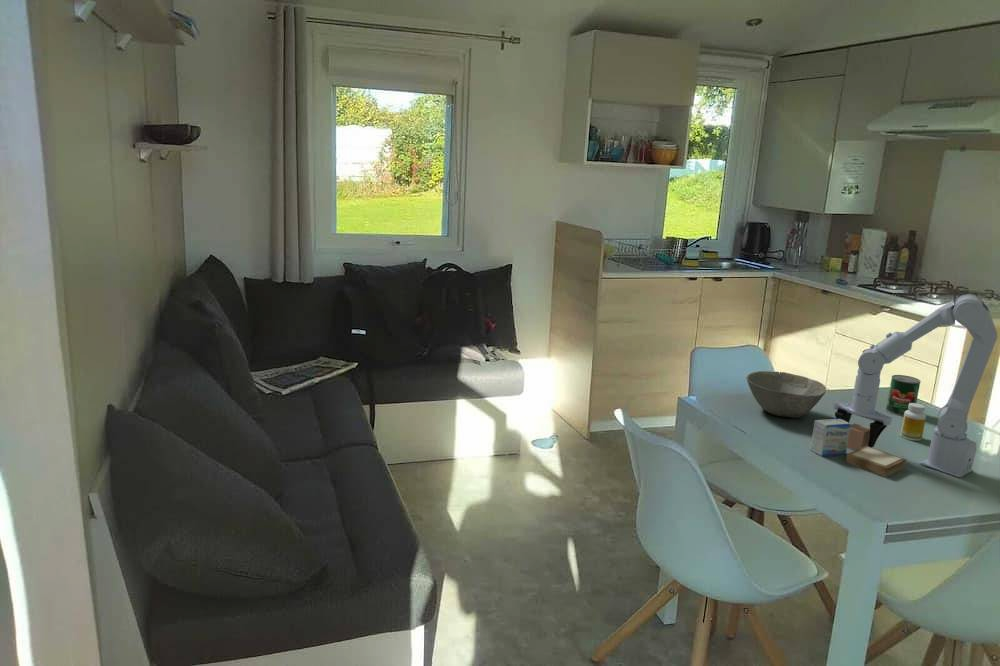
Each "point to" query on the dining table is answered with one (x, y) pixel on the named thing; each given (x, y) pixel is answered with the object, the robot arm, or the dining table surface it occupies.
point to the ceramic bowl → (785, 392)
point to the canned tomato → (902, 393)
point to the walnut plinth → (876, 461)
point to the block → (858, 437)
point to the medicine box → (830, 437)
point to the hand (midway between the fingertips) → (856, 441)
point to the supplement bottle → (913, 422)
